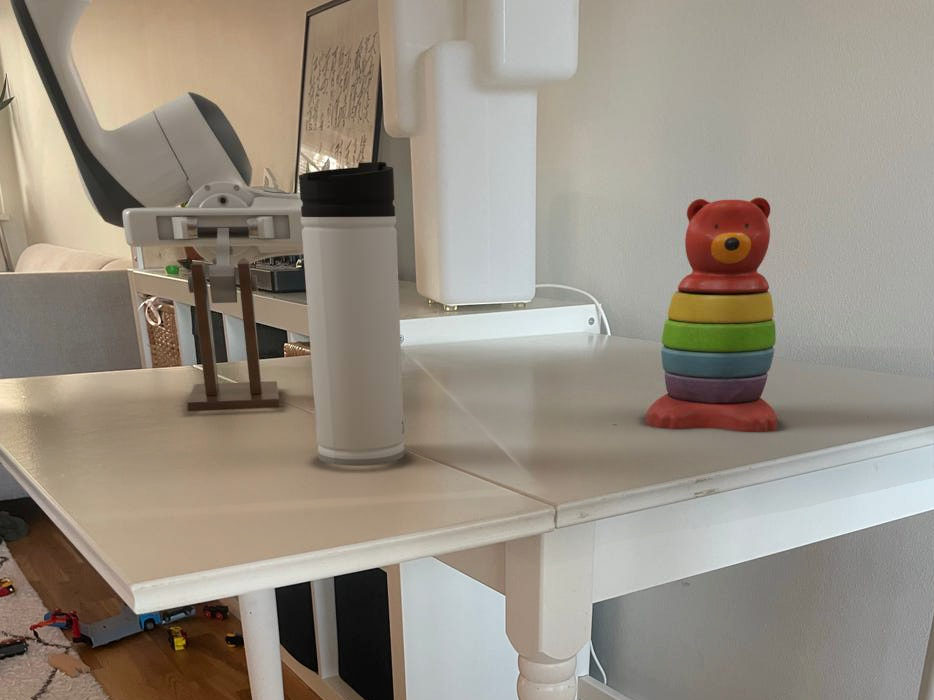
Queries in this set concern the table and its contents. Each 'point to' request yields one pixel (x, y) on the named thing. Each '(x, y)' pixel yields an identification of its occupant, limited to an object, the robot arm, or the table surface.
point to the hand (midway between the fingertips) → (223, 229)
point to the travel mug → (353, 313)
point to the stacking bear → (720, 324)
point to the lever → (223, 262)
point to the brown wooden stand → (212, 391)
